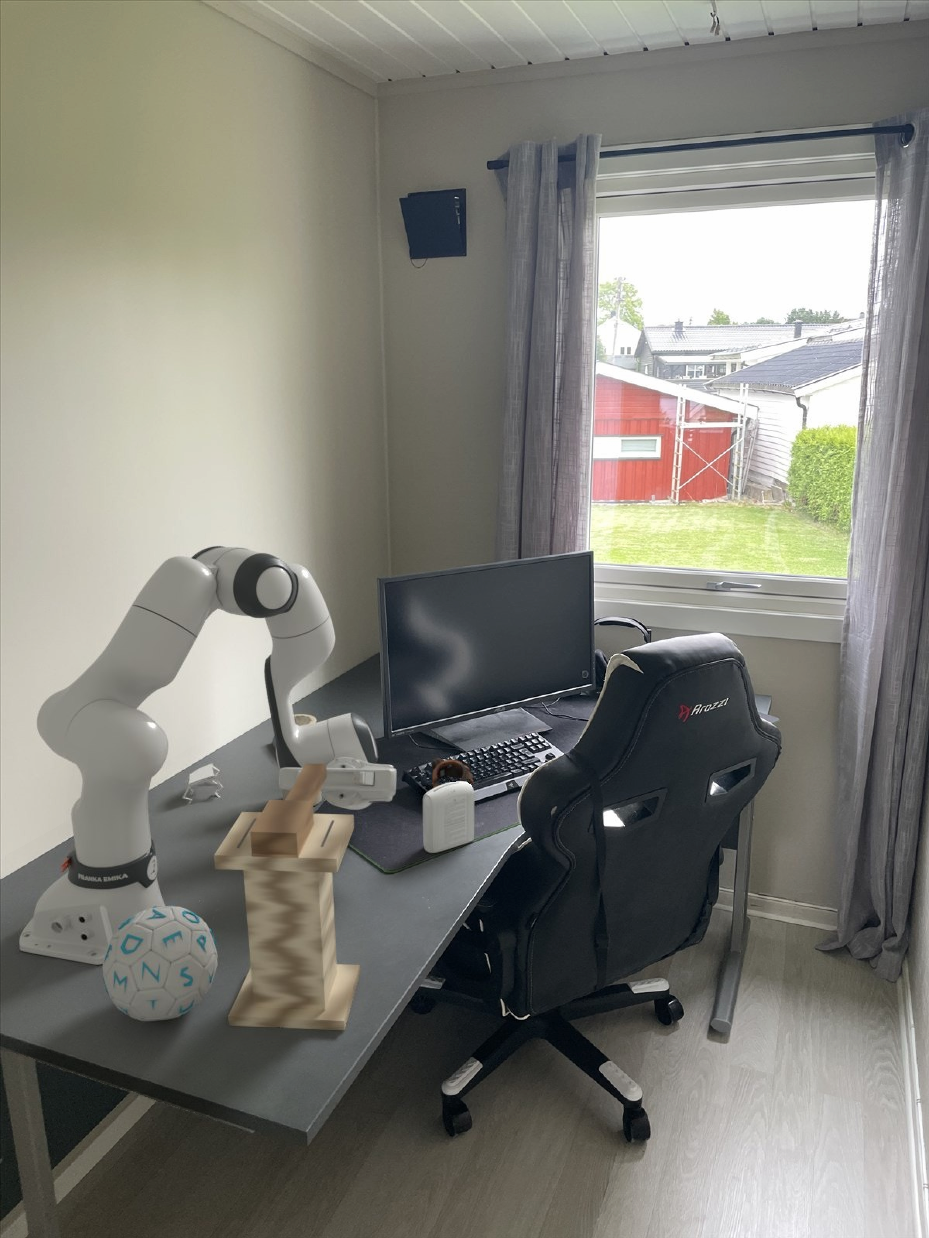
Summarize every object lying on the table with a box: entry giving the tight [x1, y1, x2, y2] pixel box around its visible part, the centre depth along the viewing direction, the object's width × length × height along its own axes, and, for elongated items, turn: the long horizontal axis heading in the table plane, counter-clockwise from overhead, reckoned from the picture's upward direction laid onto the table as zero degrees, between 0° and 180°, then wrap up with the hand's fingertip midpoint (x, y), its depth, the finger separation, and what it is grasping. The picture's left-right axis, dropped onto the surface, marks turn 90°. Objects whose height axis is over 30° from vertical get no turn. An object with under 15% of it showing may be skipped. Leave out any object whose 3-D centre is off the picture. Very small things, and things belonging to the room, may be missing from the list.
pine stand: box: [213, 811, 361, 1031], centre depth 126 cm, size 16×12×26 cm
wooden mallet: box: [250, 763, 327, 858], centre depth 127 cm, size 6×24×4 cm, turn 176°
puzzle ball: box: [102, 904, 219, 1022], centre depth 125 cm, size 15×15×15 cm
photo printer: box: [422, 781, 475, 854], centre depth 170 cm, size 10×4×12 cm, turn 123°
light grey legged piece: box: [181, 763, 224, 804], centre depth 192 cm, size 12×8×5 cm
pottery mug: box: [431, 757, 475, 789], centre depth 192 cm, size 12×10×8 cm
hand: (330, 776), depth 149 cm, fingers open, 8 cm apart
